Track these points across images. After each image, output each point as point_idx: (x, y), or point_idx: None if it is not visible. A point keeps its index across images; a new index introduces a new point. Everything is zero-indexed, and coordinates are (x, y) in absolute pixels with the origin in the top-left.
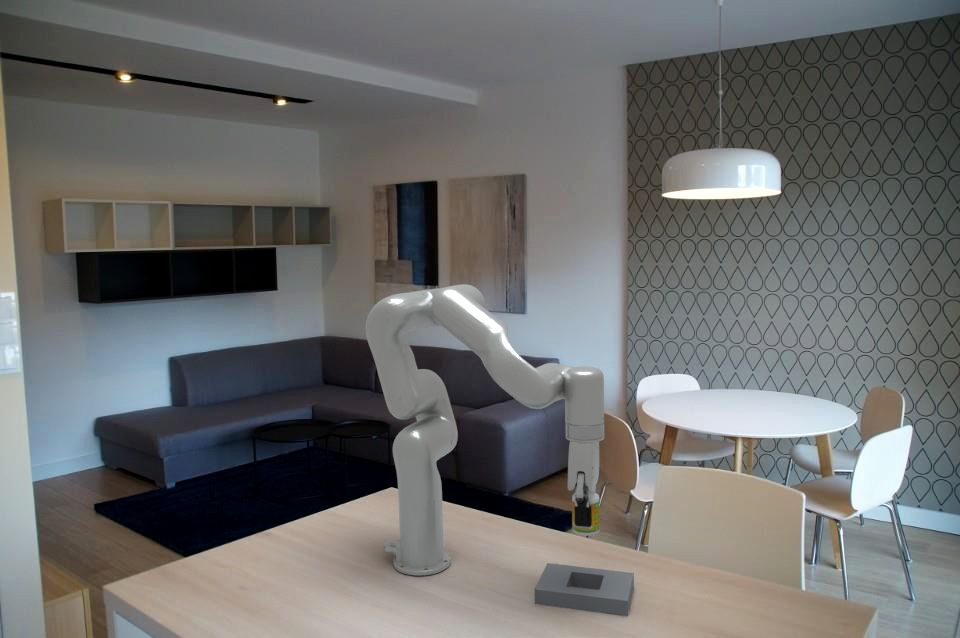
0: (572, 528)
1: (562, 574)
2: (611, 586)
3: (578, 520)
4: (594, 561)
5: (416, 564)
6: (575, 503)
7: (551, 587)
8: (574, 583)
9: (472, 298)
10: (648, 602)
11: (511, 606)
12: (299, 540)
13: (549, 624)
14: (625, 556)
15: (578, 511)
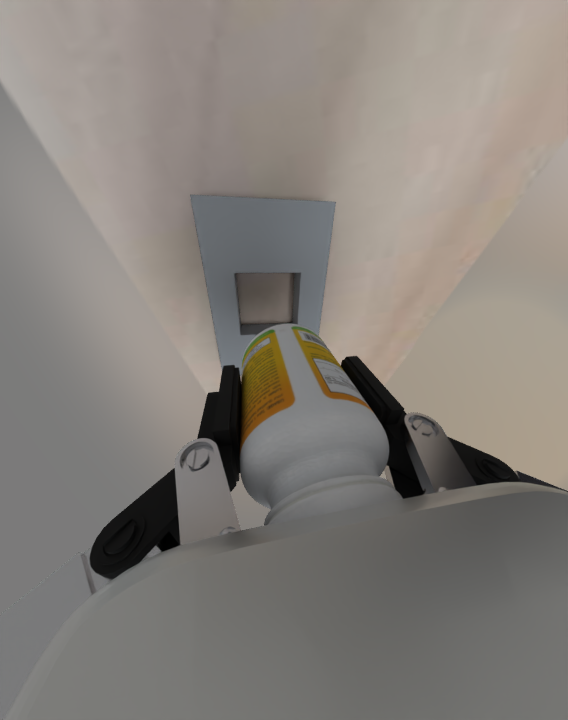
0: (273, 327)
1: (285, 254)
2: None
3: (208, 396)
4: (387, 291)
5: None
6: (176, 468)
7: (216, 240)
8: (295, 274)
9: None
10: None
11: (157, 130)
12: None
13: (134, 253)
14: (401, 333)
15: (200, 430)
